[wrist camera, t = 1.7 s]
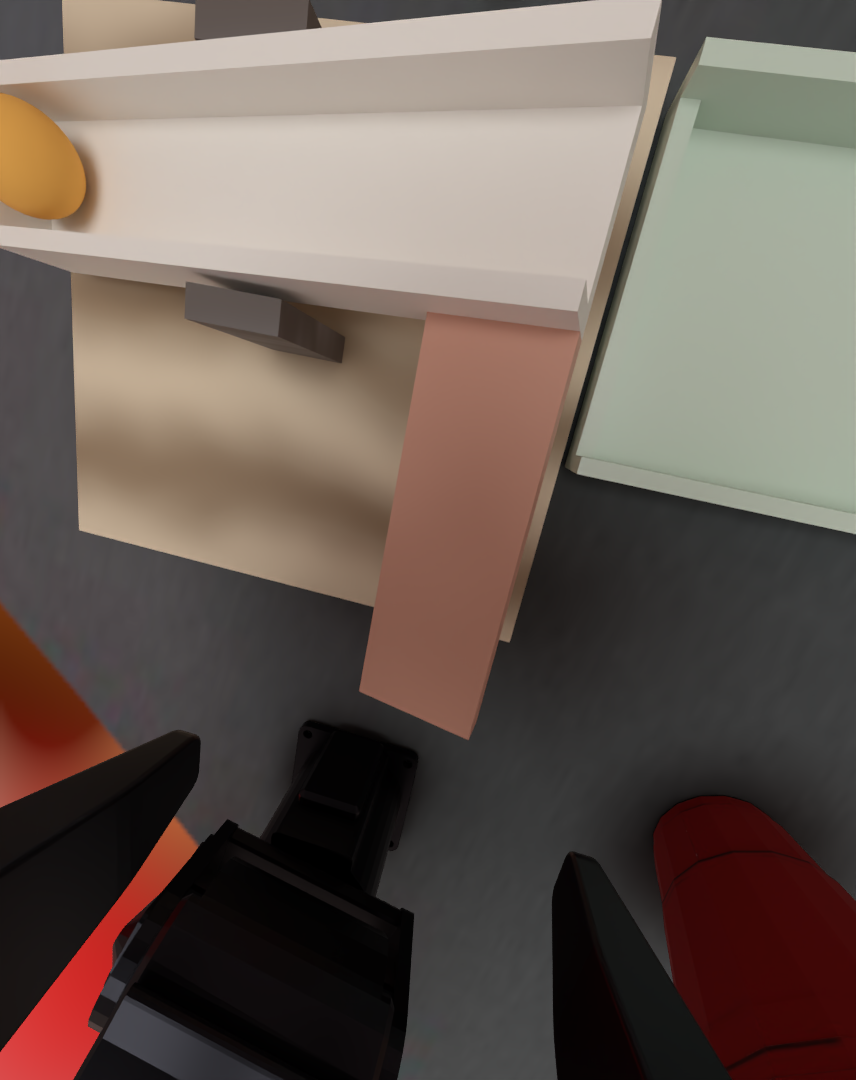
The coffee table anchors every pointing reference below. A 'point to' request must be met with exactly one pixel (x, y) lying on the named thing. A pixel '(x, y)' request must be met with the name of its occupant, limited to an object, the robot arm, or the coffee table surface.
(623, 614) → the coffee table surface
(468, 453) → the lever
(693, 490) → the tray
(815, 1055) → the plastic cup
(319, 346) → the lever stand
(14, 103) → the ball
